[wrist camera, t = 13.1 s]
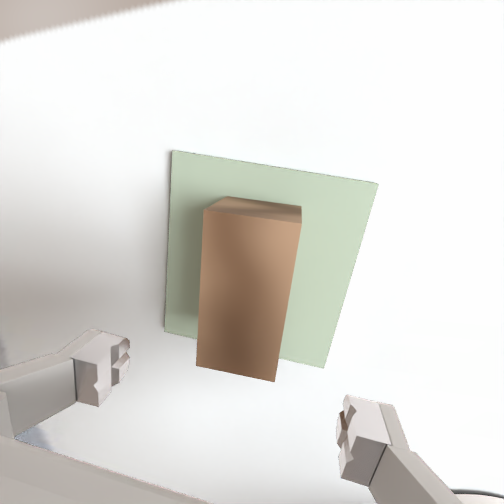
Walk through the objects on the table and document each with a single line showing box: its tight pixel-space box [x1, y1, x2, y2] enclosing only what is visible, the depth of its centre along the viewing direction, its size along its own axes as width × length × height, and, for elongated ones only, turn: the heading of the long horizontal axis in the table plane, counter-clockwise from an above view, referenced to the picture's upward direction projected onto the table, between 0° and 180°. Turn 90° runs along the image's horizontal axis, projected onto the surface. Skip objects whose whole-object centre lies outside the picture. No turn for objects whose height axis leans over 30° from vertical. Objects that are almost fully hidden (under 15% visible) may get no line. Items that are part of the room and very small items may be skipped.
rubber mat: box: [164, 151, 379, 369], centre depth 19 cm, size 13×12×1 cm
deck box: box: [196, 196, 302, 382], centre depth 16 cm, size 4×9×4 cm, turn 174°
